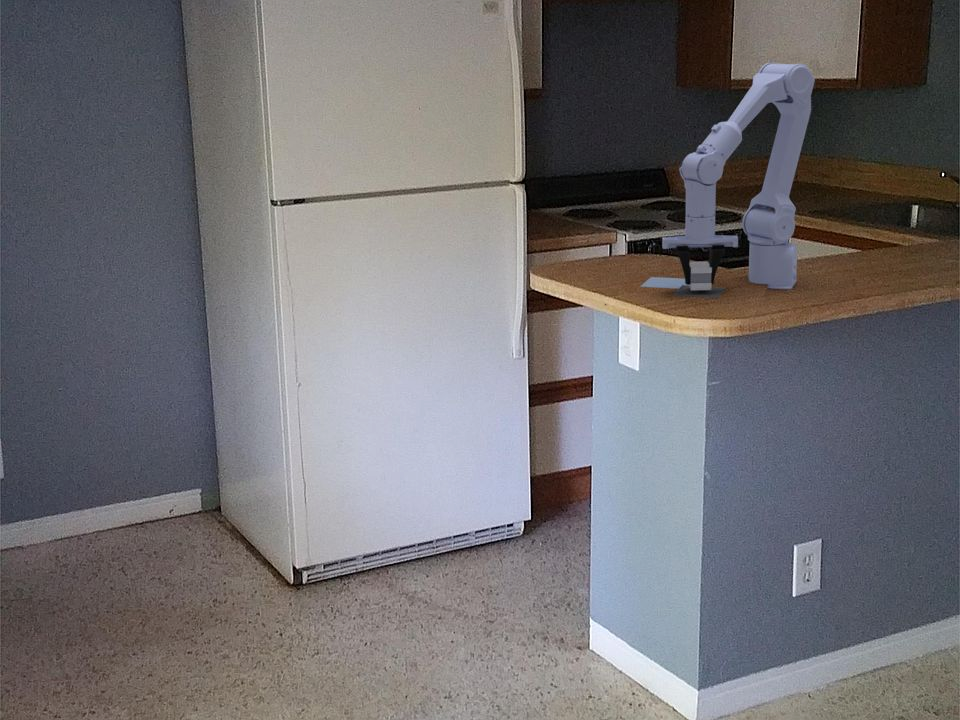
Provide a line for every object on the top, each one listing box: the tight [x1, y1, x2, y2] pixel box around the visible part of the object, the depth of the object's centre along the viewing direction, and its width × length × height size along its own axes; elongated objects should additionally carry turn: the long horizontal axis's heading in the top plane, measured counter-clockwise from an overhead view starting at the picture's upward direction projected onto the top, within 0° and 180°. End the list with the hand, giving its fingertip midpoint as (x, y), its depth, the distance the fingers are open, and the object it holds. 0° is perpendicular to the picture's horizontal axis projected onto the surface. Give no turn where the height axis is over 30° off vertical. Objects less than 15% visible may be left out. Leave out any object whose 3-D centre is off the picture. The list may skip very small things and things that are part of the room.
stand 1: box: [639, 276, 686, 290], centre depth 248 cm, size 9×9×1 cm
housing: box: [687, 260, 712, 290], centre depth 239 cm, size 6×4×4 cm, turn 177°
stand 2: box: [671, 285, 727, 299], centre depth 240 cm, size 9×9×1 cm
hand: (699, 283), depth 239 cm, fingers closed on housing, 4 cm apart
